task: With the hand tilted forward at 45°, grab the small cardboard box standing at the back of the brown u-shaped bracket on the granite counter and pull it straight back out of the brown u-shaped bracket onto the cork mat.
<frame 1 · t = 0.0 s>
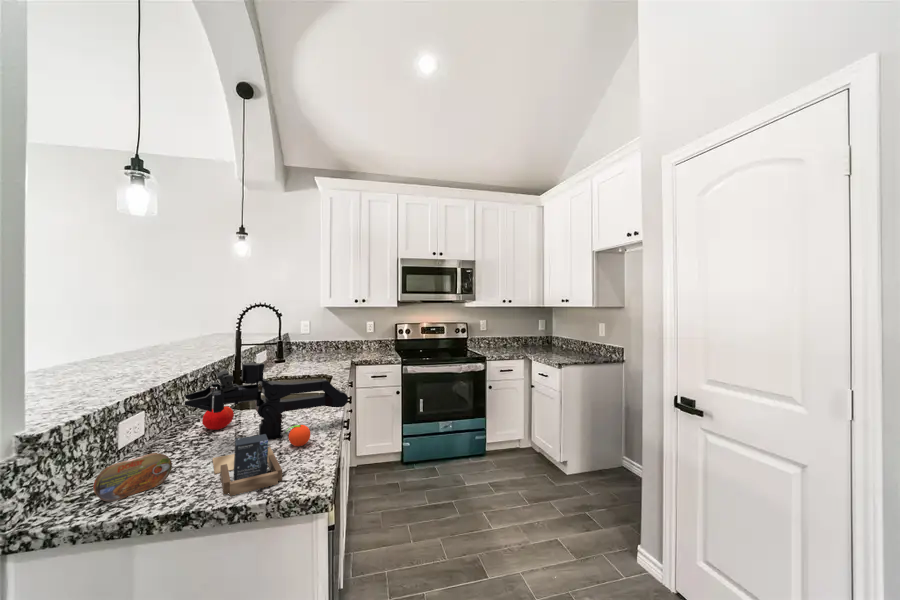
hand: (185, 400, 115), 17 cm above the counter, tool horizontal, fingers open, 9 cm apart
tomato: (218, 428, 137), on the counter
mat: (244, 460, 110), on the counter
box: (250, 477, 99), on the counter
tin: (133, 492, 91), on the counter
brown u-shaped bracket: (250, 478, 99), on the counter
clementine: (297, 446, 122), on the counter
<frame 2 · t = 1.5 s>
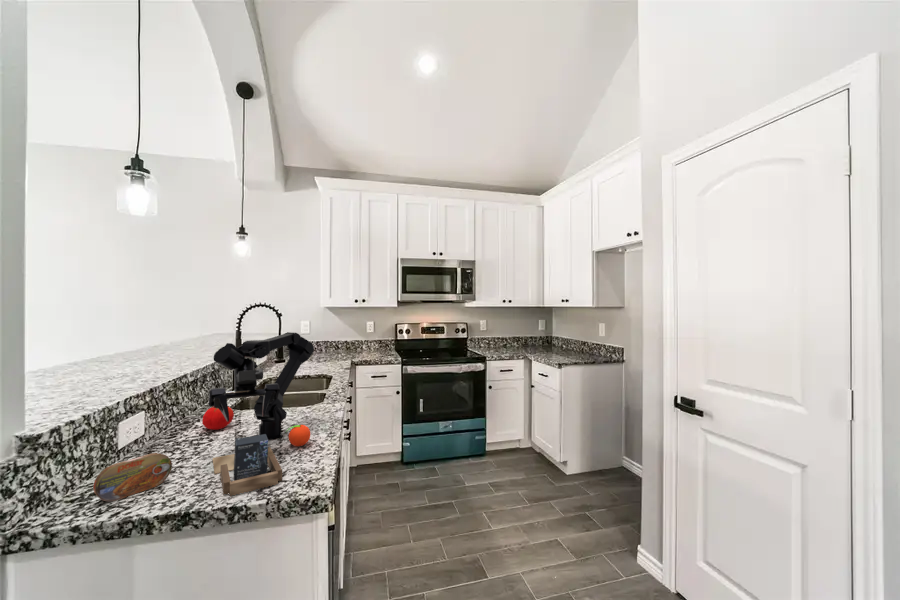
hand: (246, 418, 107), 14 cm above the counter, tool tilted 45°, fingers open, 9 cm apart
nothing on the counter moved.
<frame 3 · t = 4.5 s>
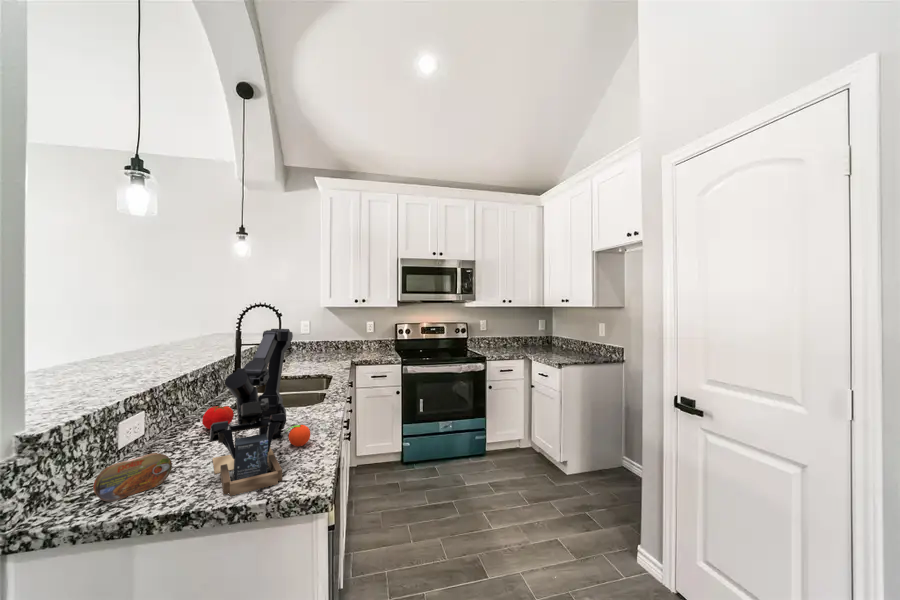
hand: (251, 454, 98), 7 cm above the counter, tool tilted 45°, fingers closed on box, 8 cm apart
box: (250, 477, 99), on the counter, touching gripper
everything else where it was.
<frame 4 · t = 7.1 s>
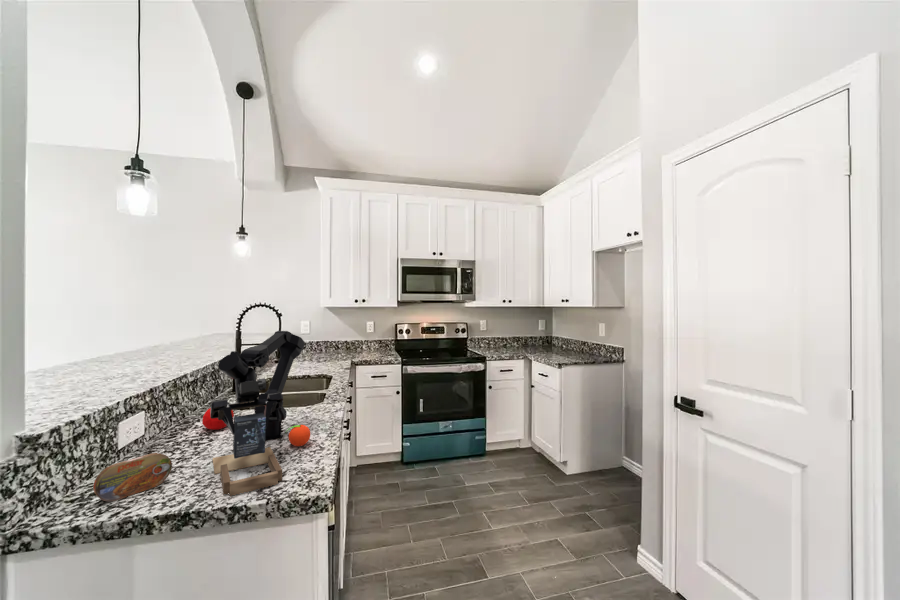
hand: (250, 430, 104), 11 cm above the counter, tool tilted 45°, fingers closed on box, 8 cm apart
box: (249, 453, 105), point 4 cm above the counter, touching gripper
everything else where it was.
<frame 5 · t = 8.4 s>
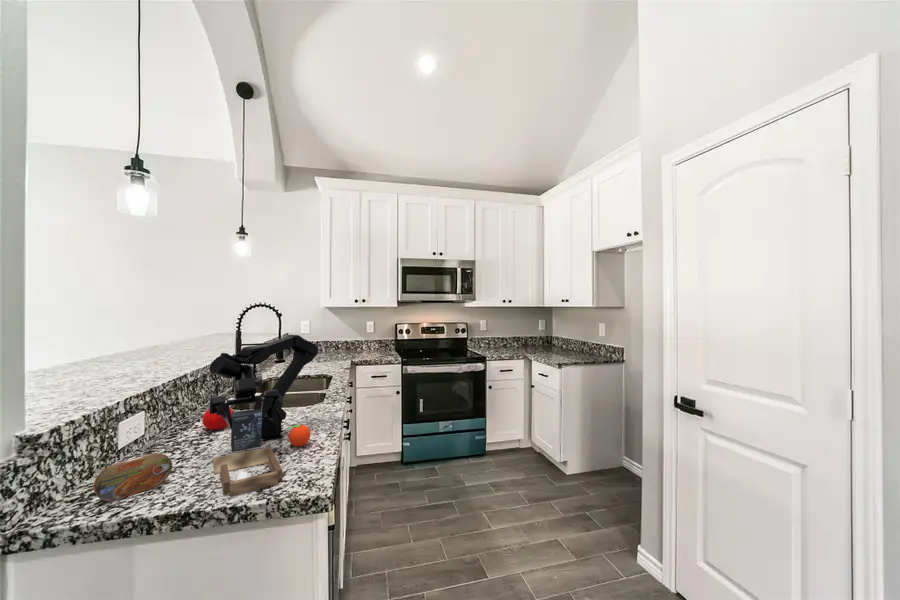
hand: (247, 425, 108), 11 cm above the counter, tool tilted 45°, fingers closed on box, 8 cm apart
box: (246, 447, 109), point 4 cm above the counter, touching gripper
everything else where it was.
when the fingers open (7 cm above the counter, at t = 9.8 s): box stays where it is, resting on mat.
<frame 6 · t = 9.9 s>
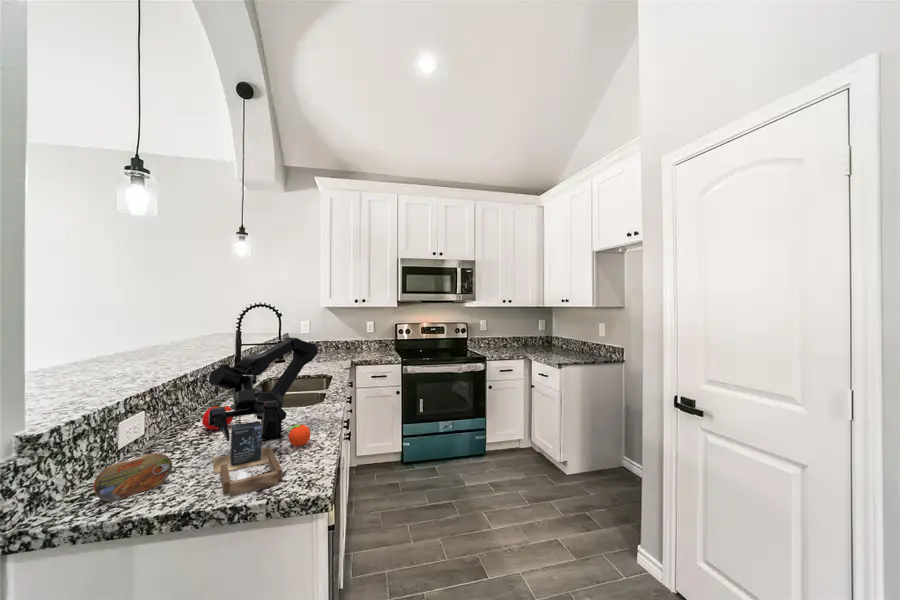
hand: (246, 437, 108), 8 cm above the counter, tool tilted 45°, fingers open, 9 cm apart
box: (245, 460, 109), resting on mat
everything else where it was.
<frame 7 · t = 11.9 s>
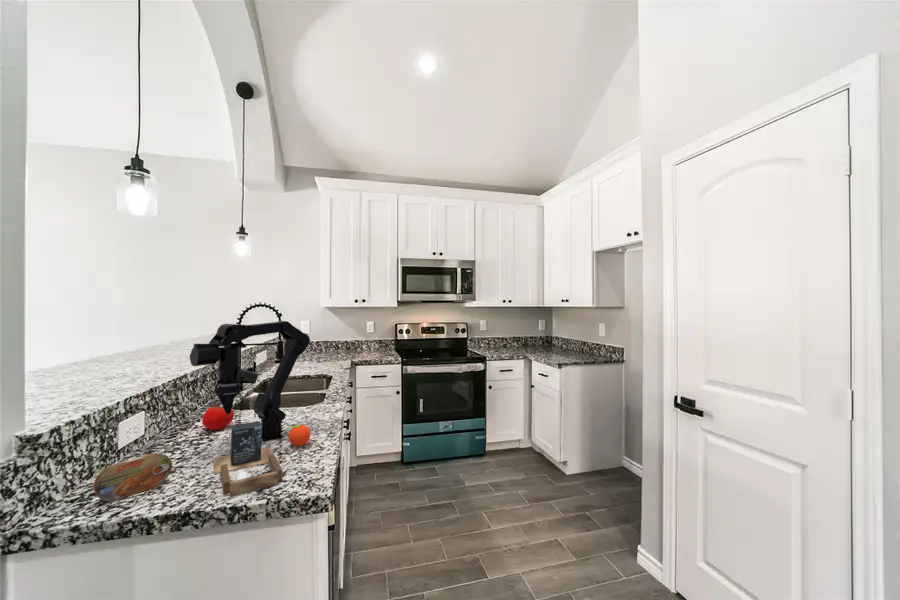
hand: (228, 410, 117), 13 cm above the counter, tool pointing down, fingers open, 9 cm apart
nothing on the counter moved.
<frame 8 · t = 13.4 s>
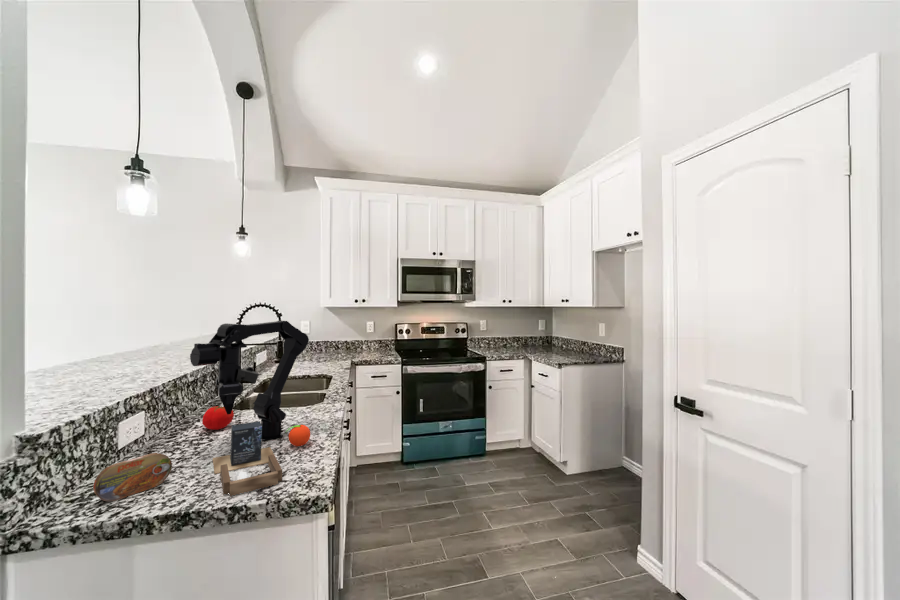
hand: (227, 410, 117), 13 cm above the counter, tool pointing down, fingers open, 9 cm apart
nothing on the counter moved.
at the end: box inside the target area (1.8 cm from its centre), resting on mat; box tilted 0°; the gripper is holding nothing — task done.
